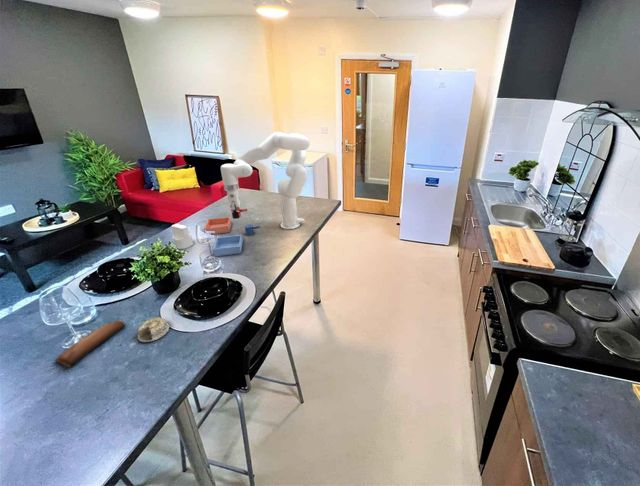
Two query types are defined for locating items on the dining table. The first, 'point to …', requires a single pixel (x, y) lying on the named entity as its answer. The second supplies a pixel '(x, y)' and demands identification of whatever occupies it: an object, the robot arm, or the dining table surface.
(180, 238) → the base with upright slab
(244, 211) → the red scoop
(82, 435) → the dining table surface
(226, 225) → the red bin
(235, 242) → the blue bin
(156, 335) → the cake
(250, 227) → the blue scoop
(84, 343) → the sunglasses case
